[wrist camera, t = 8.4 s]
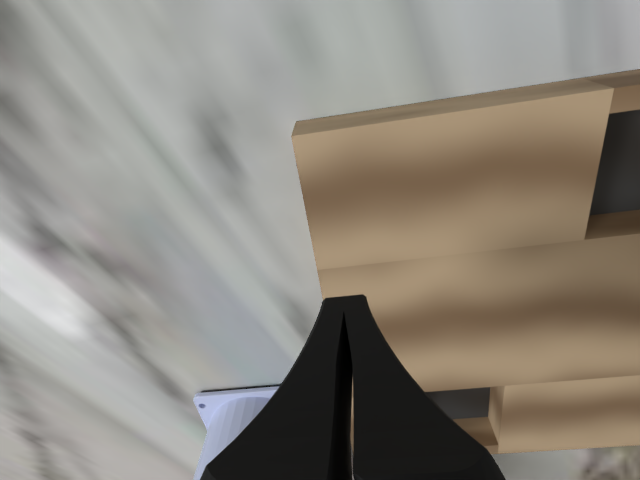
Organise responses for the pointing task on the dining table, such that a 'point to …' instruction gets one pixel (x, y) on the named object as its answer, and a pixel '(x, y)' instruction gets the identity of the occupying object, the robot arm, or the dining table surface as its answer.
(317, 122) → the track
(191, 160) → the dining table surface
